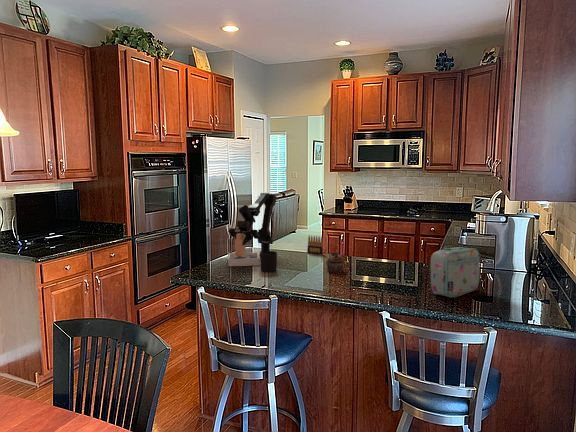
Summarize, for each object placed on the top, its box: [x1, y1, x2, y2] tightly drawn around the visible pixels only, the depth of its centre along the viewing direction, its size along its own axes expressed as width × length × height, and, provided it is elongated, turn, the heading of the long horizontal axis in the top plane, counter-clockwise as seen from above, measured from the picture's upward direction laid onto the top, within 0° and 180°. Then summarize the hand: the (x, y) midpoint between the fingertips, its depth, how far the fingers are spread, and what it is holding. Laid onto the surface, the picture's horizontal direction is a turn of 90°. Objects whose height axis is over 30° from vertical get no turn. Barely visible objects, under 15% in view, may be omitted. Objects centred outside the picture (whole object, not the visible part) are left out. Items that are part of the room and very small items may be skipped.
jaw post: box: [234, 233, 247, 257], centre depth 257 cm, size 4×4×13 cm
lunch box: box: [429, 246, 481, 299], centre depth 196 cm, size 27×10×21 cm, turn 126°
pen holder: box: [259, 250, 278, 273], centre depth 239 cm, size 9×9×10 cm
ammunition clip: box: [307, 234, 324, 255], centre depth 284 cm, size 11×2×12 cm, turn 63°
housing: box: [227, 251, 260, 267], centre depth 259 cm, size 18×18×4 cm
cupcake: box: [325, 252, 344, 273], centre depth 238 cm, size 10×10×10 cm
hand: (239, 244), depth 256 cm, fingers closed on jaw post, 4 cm apart
